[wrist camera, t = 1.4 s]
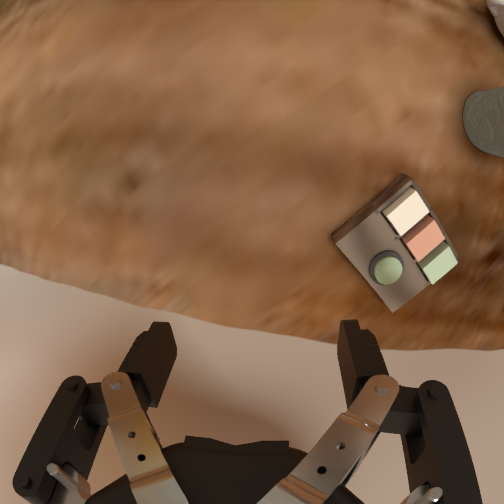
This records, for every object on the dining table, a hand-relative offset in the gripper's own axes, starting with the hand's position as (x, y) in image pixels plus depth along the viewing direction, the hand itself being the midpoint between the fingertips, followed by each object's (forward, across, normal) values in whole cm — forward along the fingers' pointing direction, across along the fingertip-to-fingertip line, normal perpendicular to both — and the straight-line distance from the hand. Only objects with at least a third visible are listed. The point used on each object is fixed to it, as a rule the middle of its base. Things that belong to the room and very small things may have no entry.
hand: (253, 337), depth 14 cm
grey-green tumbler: (+25, -31, -12) cm, 41 cm away
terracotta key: (+22, -19, +4) cm, 30 cm away
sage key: (+22, -22, +7) cm, 32 cm away
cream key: (+22, -16, +1) cm, 28 cm away
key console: (+24, -17, +6) cm, 30 cm away
